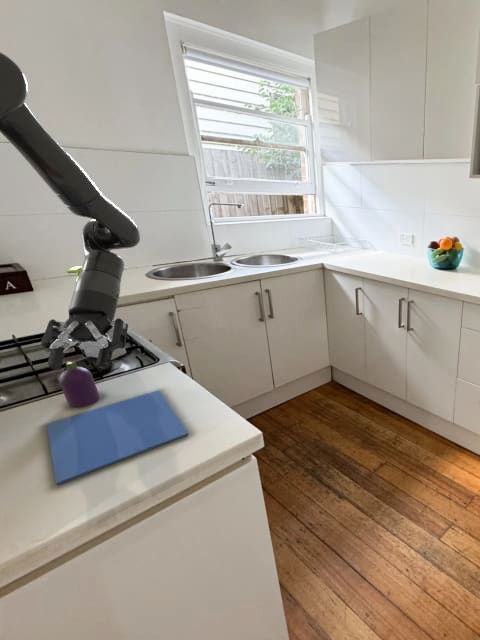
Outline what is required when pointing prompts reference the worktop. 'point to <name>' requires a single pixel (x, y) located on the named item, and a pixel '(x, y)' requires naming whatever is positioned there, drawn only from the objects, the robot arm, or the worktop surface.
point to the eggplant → (78, 386)
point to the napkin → (111, 434)
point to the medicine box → (94, 348)
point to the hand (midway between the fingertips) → (78, 368)
